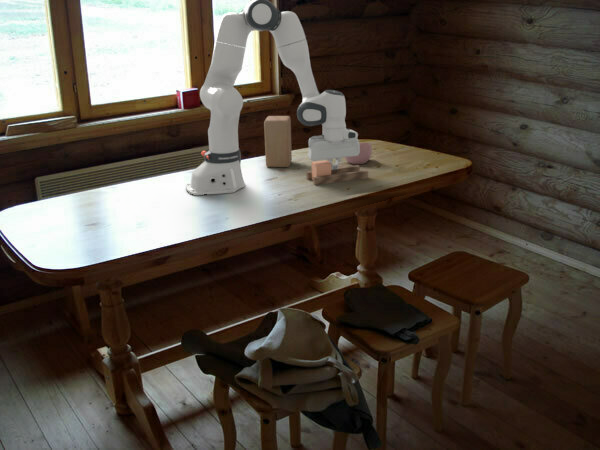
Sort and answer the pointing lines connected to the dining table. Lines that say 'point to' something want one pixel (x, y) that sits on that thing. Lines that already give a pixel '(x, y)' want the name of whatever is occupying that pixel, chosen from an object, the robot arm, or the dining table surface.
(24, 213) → the dining table surface
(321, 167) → the block
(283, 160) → the wooden block
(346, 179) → the chute
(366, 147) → the mortar and pestle
